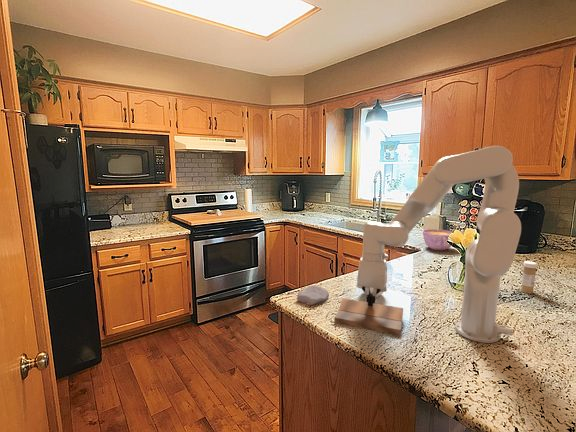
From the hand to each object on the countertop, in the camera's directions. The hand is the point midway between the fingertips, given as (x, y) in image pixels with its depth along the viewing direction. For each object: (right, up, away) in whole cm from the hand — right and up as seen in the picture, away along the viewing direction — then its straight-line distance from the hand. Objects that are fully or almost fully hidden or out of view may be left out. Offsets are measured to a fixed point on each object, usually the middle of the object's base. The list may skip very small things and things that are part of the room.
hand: (370, 304), depth 114 cm
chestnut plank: (0, -3, 0) cm, 3 cm away
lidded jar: (+6, -2, +19) cm, 20 cm away
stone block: (-20, -3, +15) cm, 24 cm away
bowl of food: (+70, +10, +94) cm, 118 cm away
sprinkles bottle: (+75, -1, +22) cm, 78 cm away
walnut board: (-3, -5, -6) cm, 9 cm away
